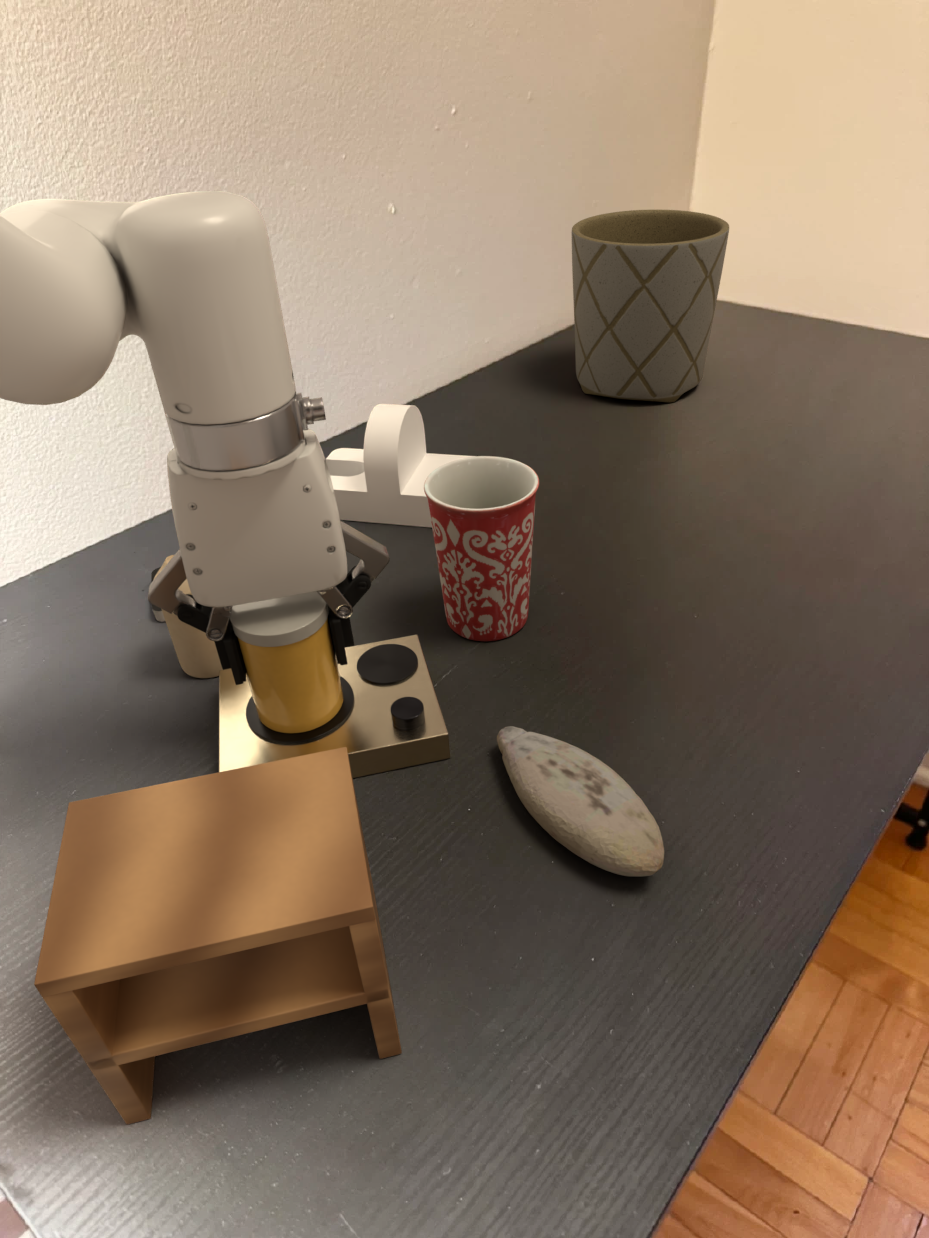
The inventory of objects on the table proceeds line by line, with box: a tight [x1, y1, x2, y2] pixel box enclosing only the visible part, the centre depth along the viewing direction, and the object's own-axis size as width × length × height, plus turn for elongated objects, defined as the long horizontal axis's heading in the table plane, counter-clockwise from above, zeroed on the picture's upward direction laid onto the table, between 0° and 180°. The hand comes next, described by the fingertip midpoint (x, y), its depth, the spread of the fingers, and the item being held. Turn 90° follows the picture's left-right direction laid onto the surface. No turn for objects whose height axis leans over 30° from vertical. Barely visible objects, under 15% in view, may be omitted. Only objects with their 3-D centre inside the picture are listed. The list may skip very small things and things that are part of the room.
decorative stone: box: [496, 725, 665, 877], centre depth 56 cm, size 6×16×3 cm, turn 37°
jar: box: [230, 591, 343, 733], centre depth 60 cm, size 7×7×9 cm
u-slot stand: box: [325, 403, 477, 528], centre depth 89 cm, size 10×18×11 cm, turn 76°
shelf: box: [33, 747, 403, 1125], centre depth 43 cm, size 14×10×13 cm
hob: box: [218, 634, 451, 779], centre depth 63 cm, size 16×12×4 cm
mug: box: [424, 455, 540, 642], centre depth 72 cm, size 13×9×14 cm
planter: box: [571, 209, 730, 404], centre depth 110 cm, size 19×19×20 cm
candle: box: [154, 554, 223, 679], centre depth 69 cm, size 6×6×10 cm
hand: (290, 661), depth 60 cm, fingers closed on jar, 6 cm apart
